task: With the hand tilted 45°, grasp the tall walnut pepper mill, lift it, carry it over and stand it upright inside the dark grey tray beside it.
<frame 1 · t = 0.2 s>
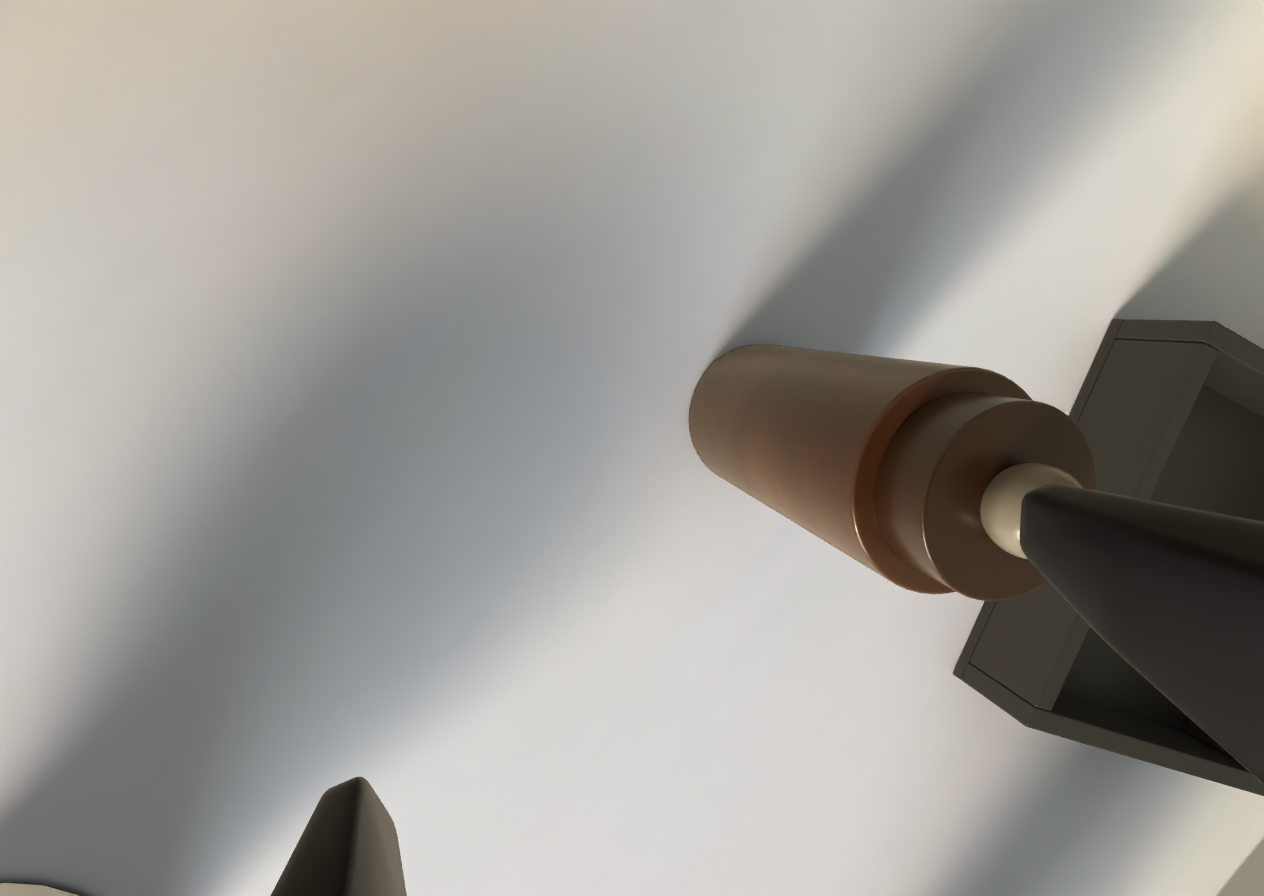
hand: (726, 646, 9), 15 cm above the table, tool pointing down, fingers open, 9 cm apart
pepper mill: (755, 415, 25), on the table
dark grey tray: (1145, 548, 31), on the table
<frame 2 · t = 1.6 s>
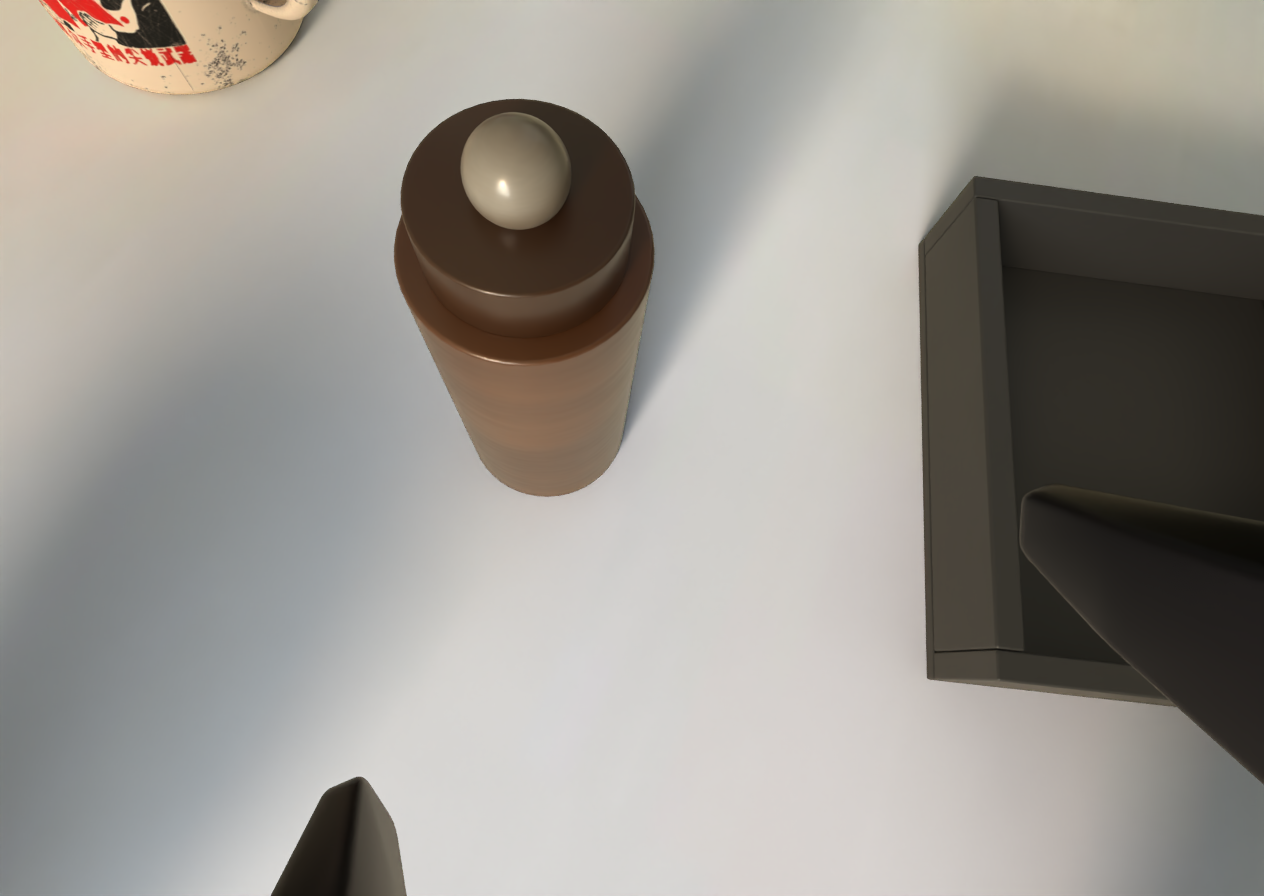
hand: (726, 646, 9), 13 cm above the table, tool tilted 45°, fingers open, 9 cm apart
pepper mill: (548, 423, 24), on the table
dark grey tray: (1113, 464, 25), on the table
teacup with lid: (228, 30, 28), on the table
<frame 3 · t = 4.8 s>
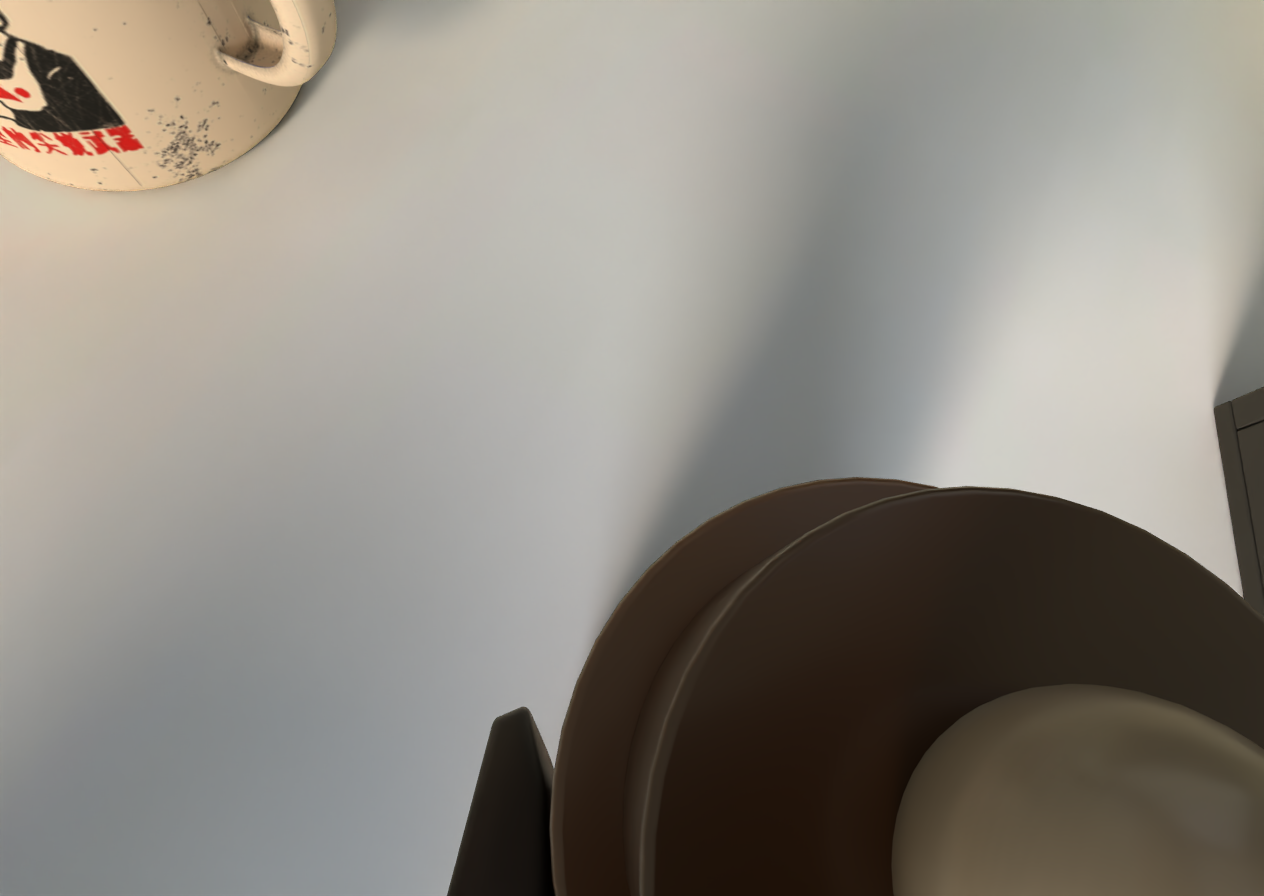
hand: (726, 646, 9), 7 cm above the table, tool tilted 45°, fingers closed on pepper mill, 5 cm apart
pepper mill: (690, 723, 15), on the table, touching gripper
teacup with lid: (197, 91, 19), on the table
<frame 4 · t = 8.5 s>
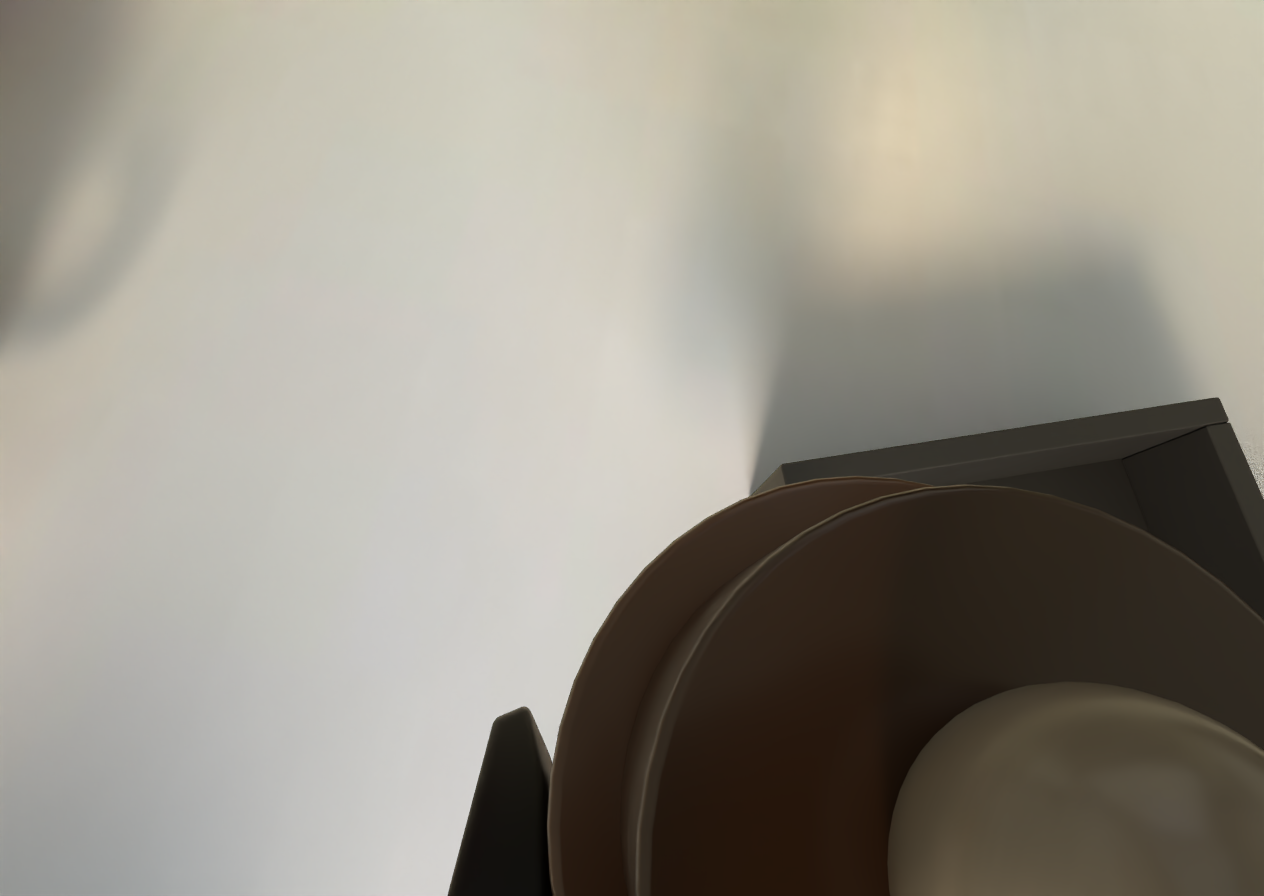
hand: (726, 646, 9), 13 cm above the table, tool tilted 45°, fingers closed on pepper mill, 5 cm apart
pepper mill: (689, 722, 15), point 7 cm above the table, touching gripper
dark grey tray: (1015, 707, 22), on the table
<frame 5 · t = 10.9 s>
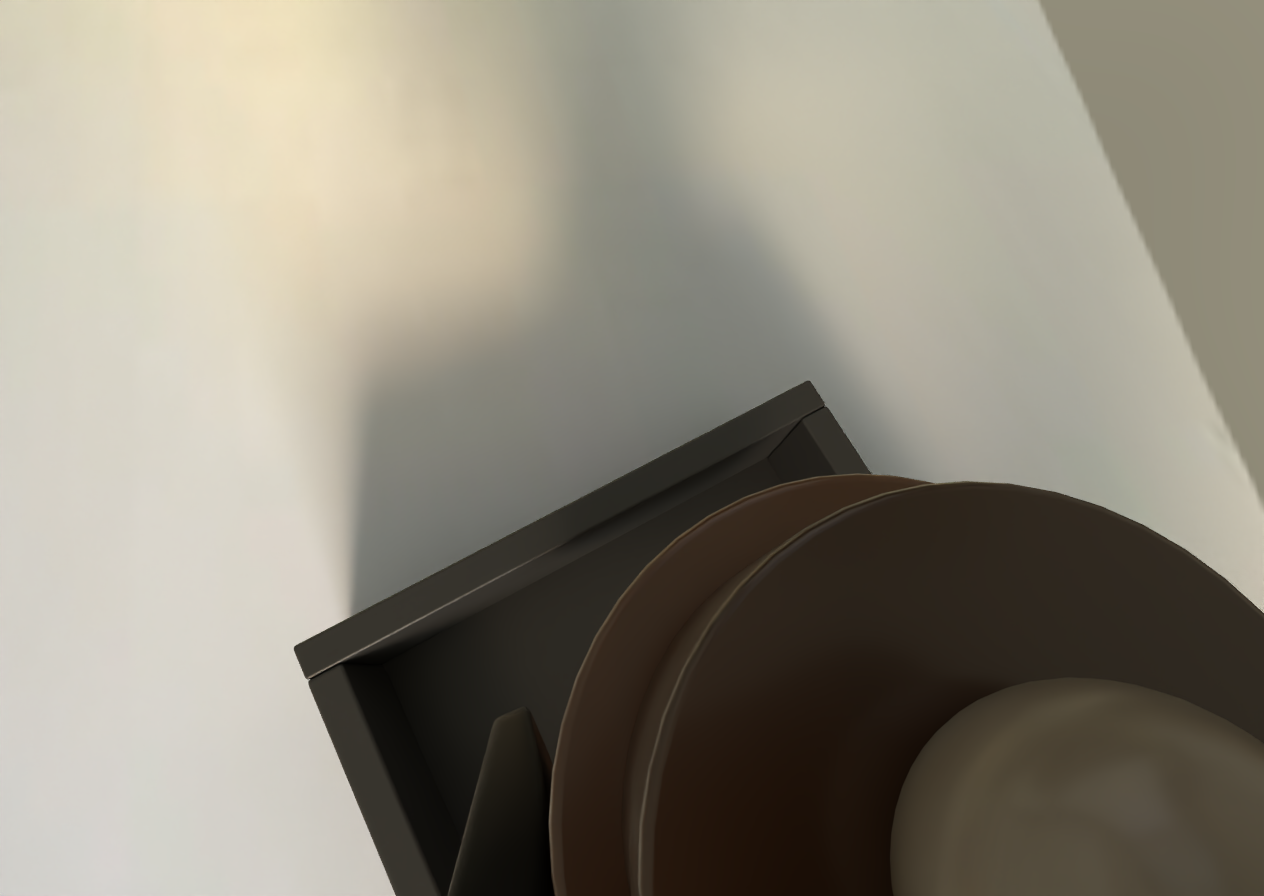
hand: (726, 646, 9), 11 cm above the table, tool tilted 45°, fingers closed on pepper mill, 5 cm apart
pepper mill: (690, 721, 15), point 5 cm above the table, touching gripper
dark grey tray: (711, 791, 19), on the table
when the fingers open (7 cm above the table, at t = 12.5 s): pepper mill stays where it is, resting on dark grey tray.
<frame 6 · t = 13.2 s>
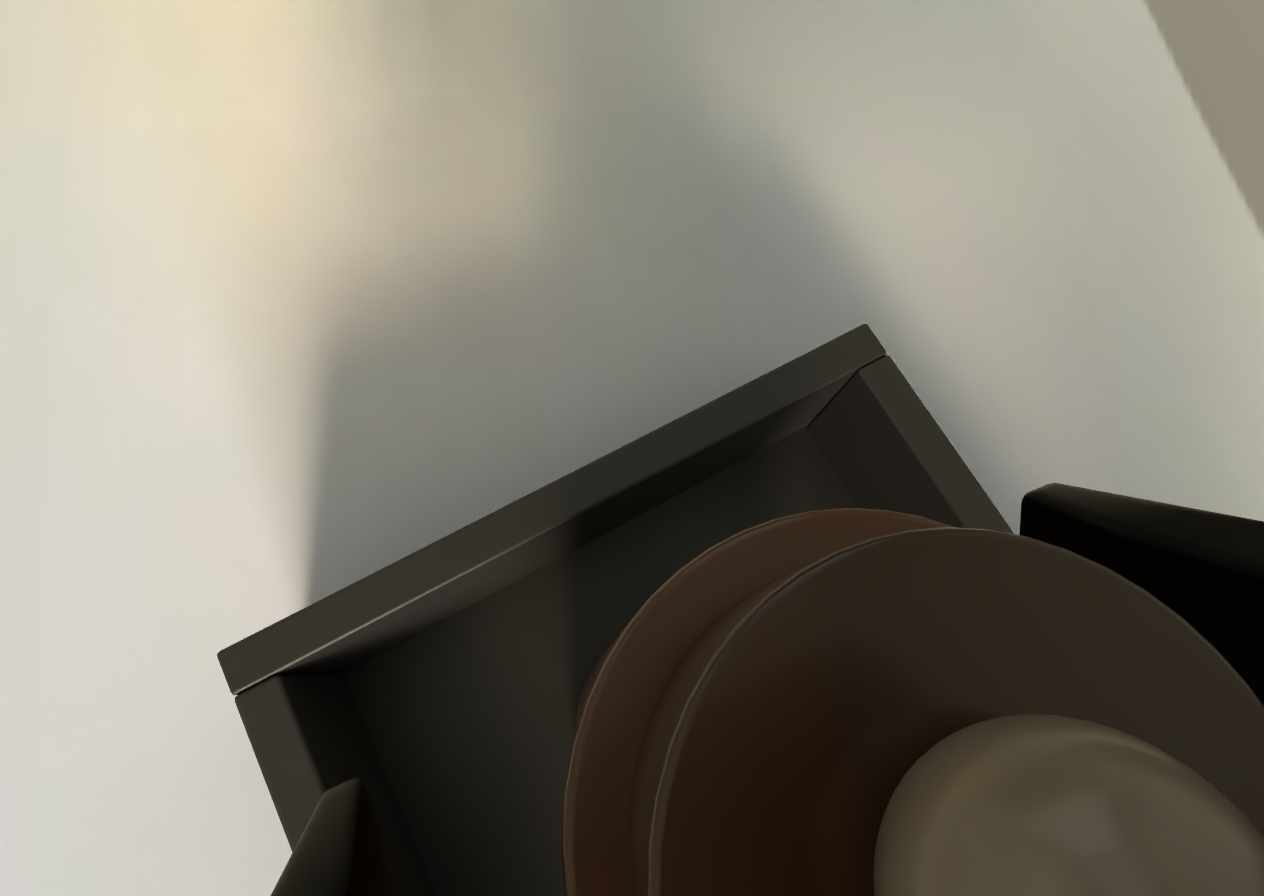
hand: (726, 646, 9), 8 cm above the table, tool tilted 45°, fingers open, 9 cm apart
pepper mill: (691, 730, 15), resting on dark grey tray
dark grey tray: (745, 830, 15), on the table
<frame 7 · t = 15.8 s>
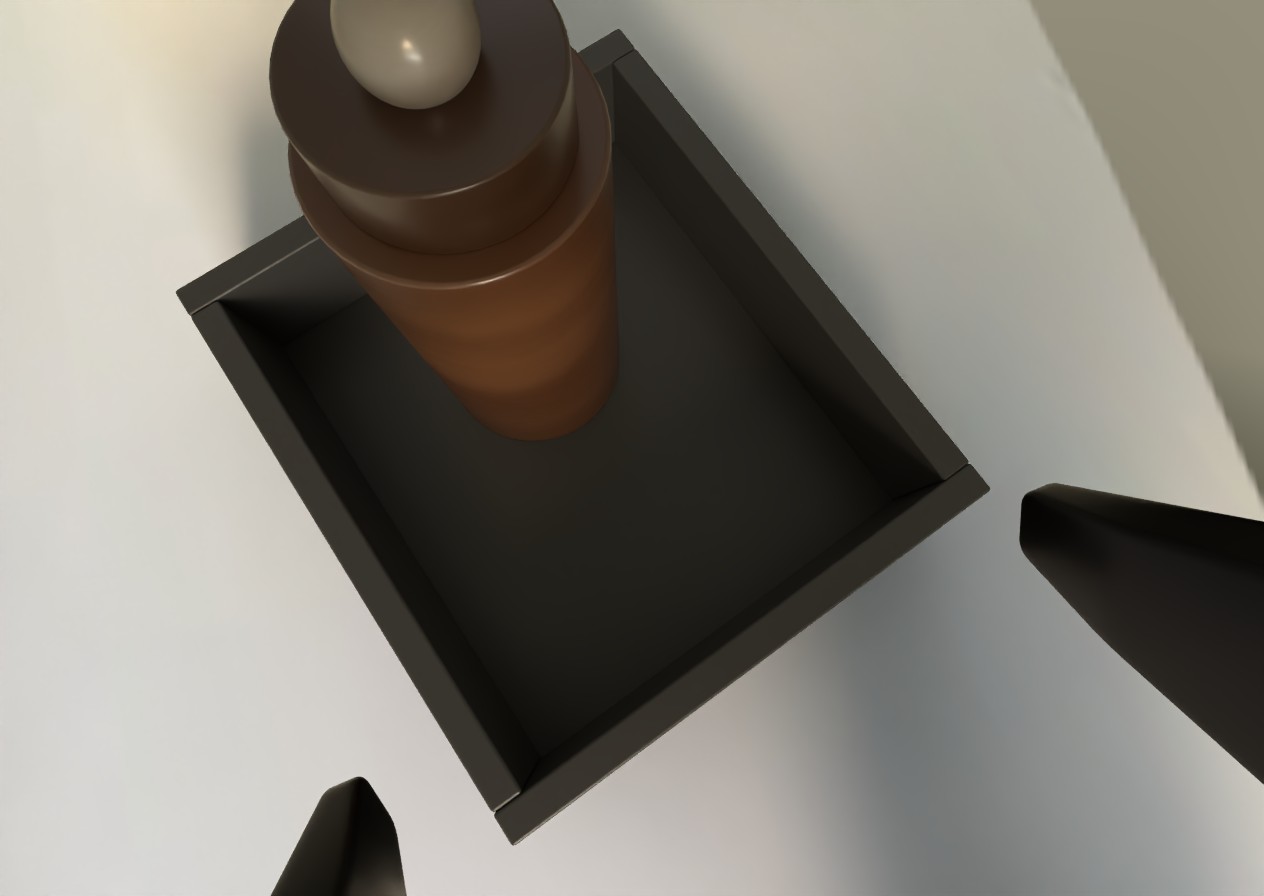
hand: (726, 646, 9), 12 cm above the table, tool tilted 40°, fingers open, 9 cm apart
pepper mill: (535, 359, 21), resting on dark grey tray
dark grey tray: (582, 426, 21), on the table
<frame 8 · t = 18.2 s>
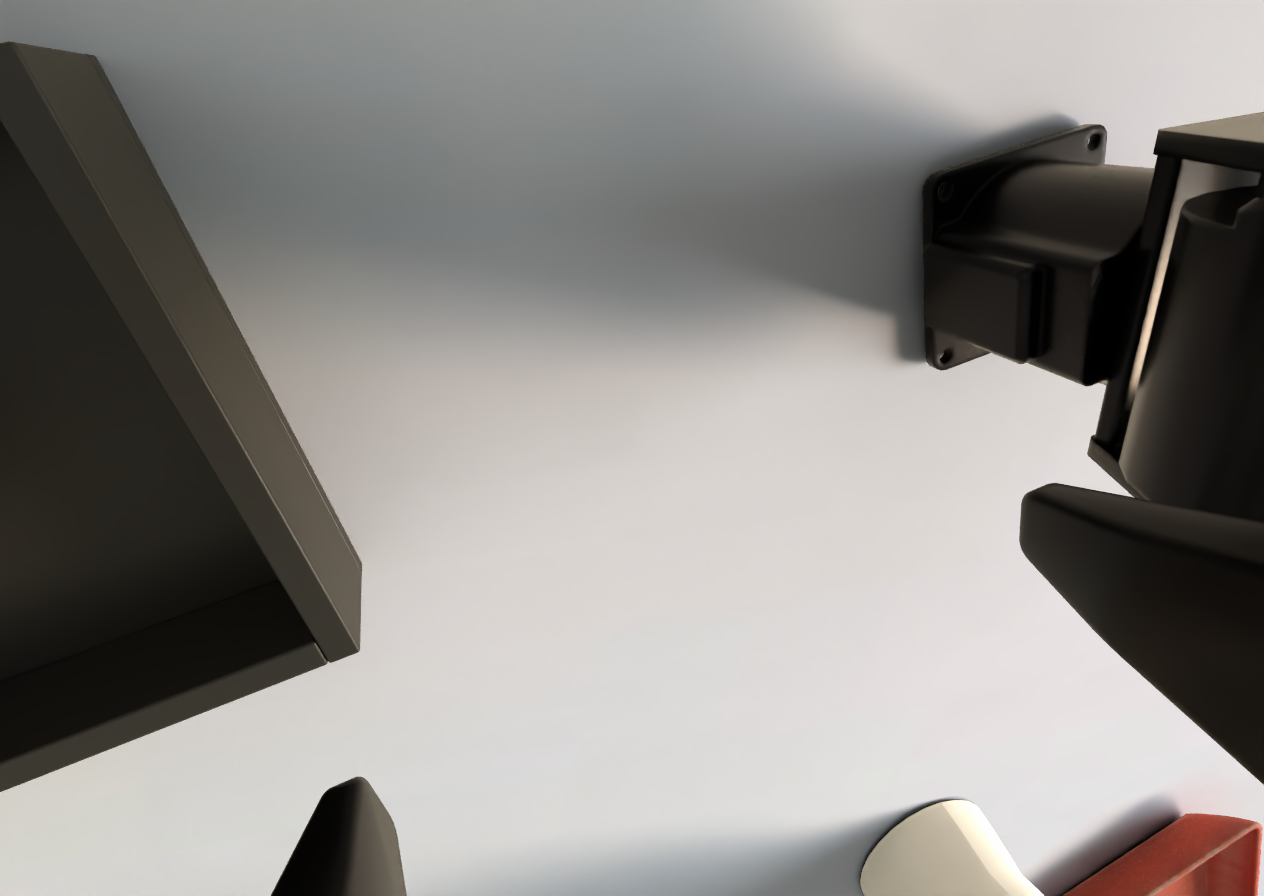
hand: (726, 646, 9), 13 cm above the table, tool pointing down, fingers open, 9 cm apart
white vase: (918, 847, 39), on the table
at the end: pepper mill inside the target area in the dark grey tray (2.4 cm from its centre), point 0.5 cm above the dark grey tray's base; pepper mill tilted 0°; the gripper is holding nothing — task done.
